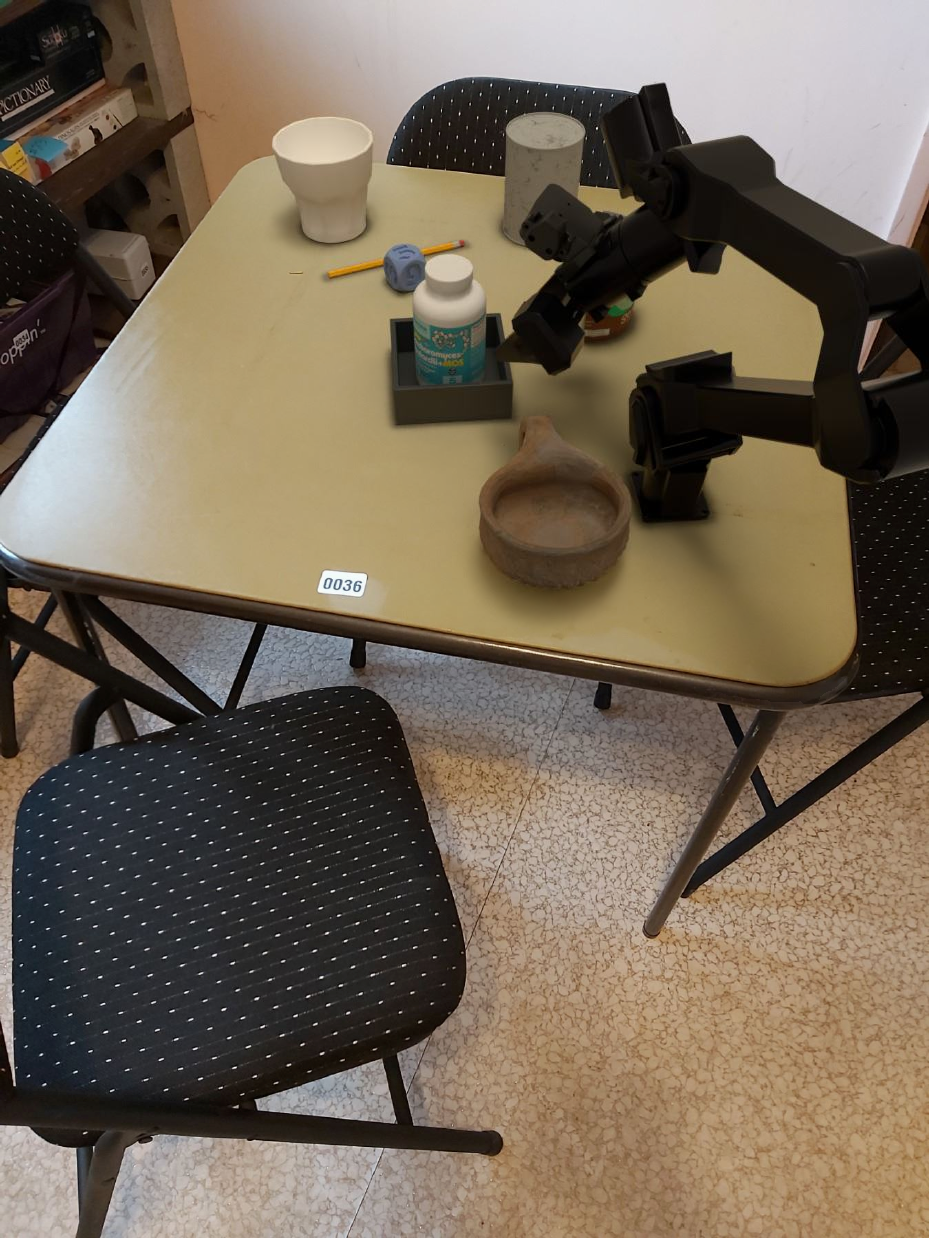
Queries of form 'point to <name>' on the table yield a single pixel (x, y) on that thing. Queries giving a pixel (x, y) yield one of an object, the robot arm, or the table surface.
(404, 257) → the decorative dice
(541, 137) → the marbled stone cylinder
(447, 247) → the pencil
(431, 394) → the dark gray square tray
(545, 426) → the bowl
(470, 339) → the pill bottle
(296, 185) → the cup
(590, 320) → the food container
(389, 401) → the table surface
